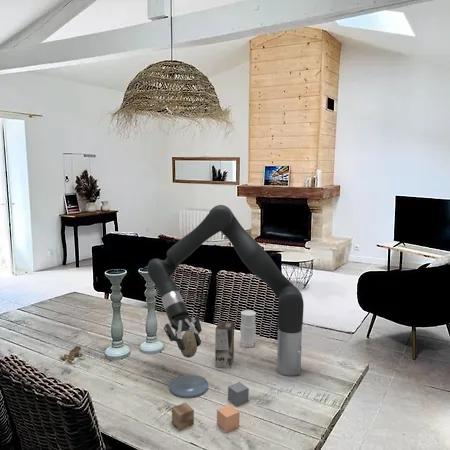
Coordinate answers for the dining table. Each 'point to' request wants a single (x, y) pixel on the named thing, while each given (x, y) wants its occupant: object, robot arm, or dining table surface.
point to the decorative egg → (189, 344)
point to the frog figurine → (72, 356)
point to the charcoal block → (238, 393)
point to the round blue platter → (188, 386)
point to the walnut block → (182, 415)
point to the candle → (248, 328)
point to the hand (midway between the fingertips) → (191, 347)
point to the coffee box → (224, 344)
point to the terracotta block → (228, 418)
